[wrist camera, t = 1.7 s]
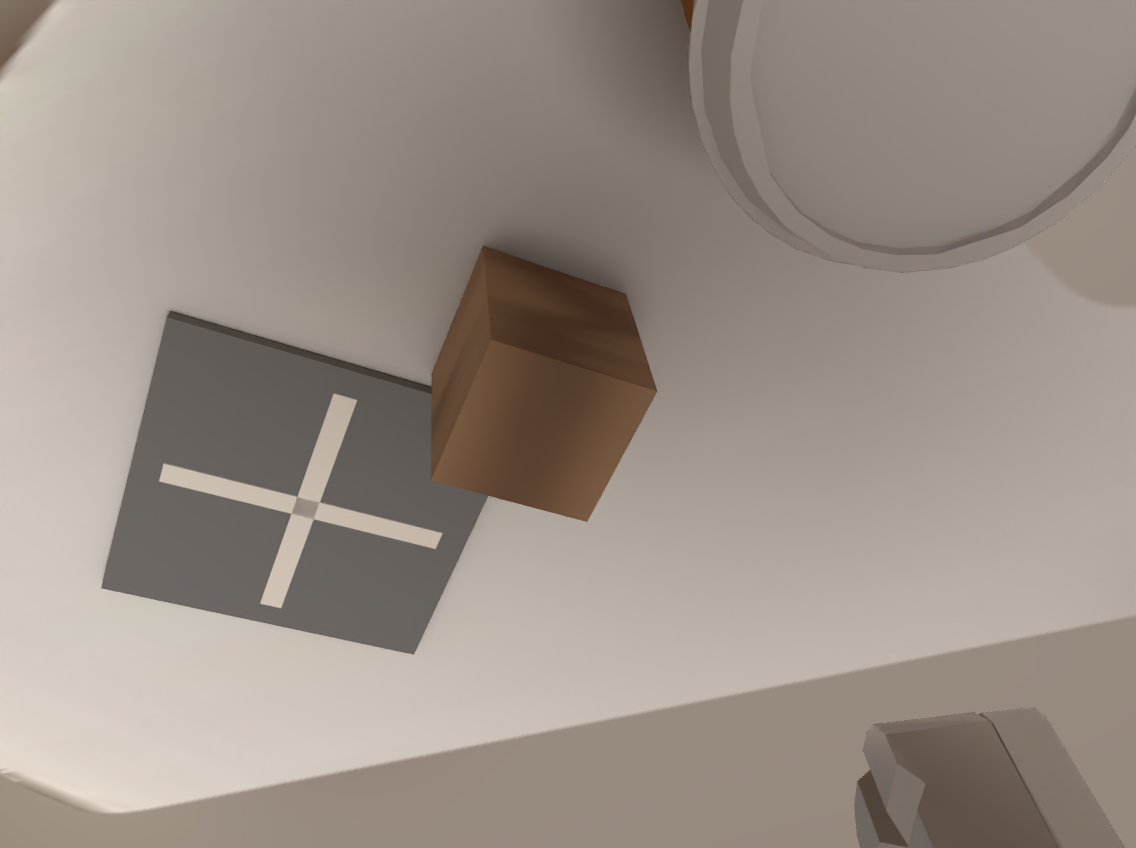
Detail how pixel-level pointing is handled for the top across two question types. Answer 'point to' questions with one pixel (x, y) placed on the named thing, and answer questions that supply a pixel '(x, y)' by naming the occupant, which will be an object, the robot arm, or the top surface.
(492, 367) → the walnut block
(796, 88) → the disposable coffee cup
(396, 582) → the pad
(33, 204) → the top surface
